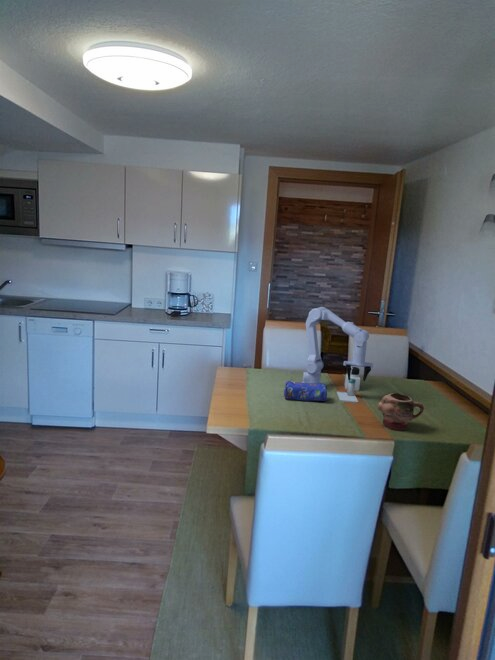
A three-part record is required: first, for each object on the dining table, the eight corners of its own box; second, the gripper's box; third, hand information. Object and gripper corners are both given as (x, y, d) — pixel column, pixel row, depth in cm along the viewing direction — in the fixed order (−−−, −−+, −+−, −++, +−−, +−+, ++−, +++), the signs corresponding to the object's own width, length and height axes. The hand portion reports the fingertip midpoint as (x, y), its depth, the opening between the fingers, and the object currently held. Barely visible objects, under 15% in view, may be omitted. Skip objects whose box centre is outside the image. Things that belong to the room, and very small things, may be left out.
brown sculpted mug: (413, 421, 201) (418, 393, 198) (425, 433, 189) (430, 402, 186) (371, 419, 199) (375, 390, 196) (380, 431, 187) (385, 400, 185)
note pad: (340, 401, 220) (340, 399, 220) (336, 392, 233) (336, 391, 233) (358, 402, 220) (358, 401, 220) (353, 393, 233) (353, 392, 233)
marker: (347, 395, 227) (349, 380, 225) (346, 393, 231) (348, 378, 229) (354, 396, 227) (356, 380, 225) (353, 394, 230) (355, 378, 229)
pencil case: (282, 401, 215) (284, 382, 213) (281, 395, 223) (283, 377, 222) (327, 404, 215) (329, 385, 213) (324, 398, 224) (326, 380, 222)
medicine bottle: (357, 387, 245) (359, 366, 242) (359, 391, 238) (361, 370, 235) (344, 385, 245) (346, 365, 243) (345, 389, 238) (348, 368, 236)
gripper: (346, 355, 216) (343, 381, 219) (376, 357, 216) (372, 383, 219) (344, 351, 223) (341, 377, 226) (372, 353, 223) (369, 379, 225)
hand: (356, 380), depth 223 cm, fingers open, 7 cm apart
